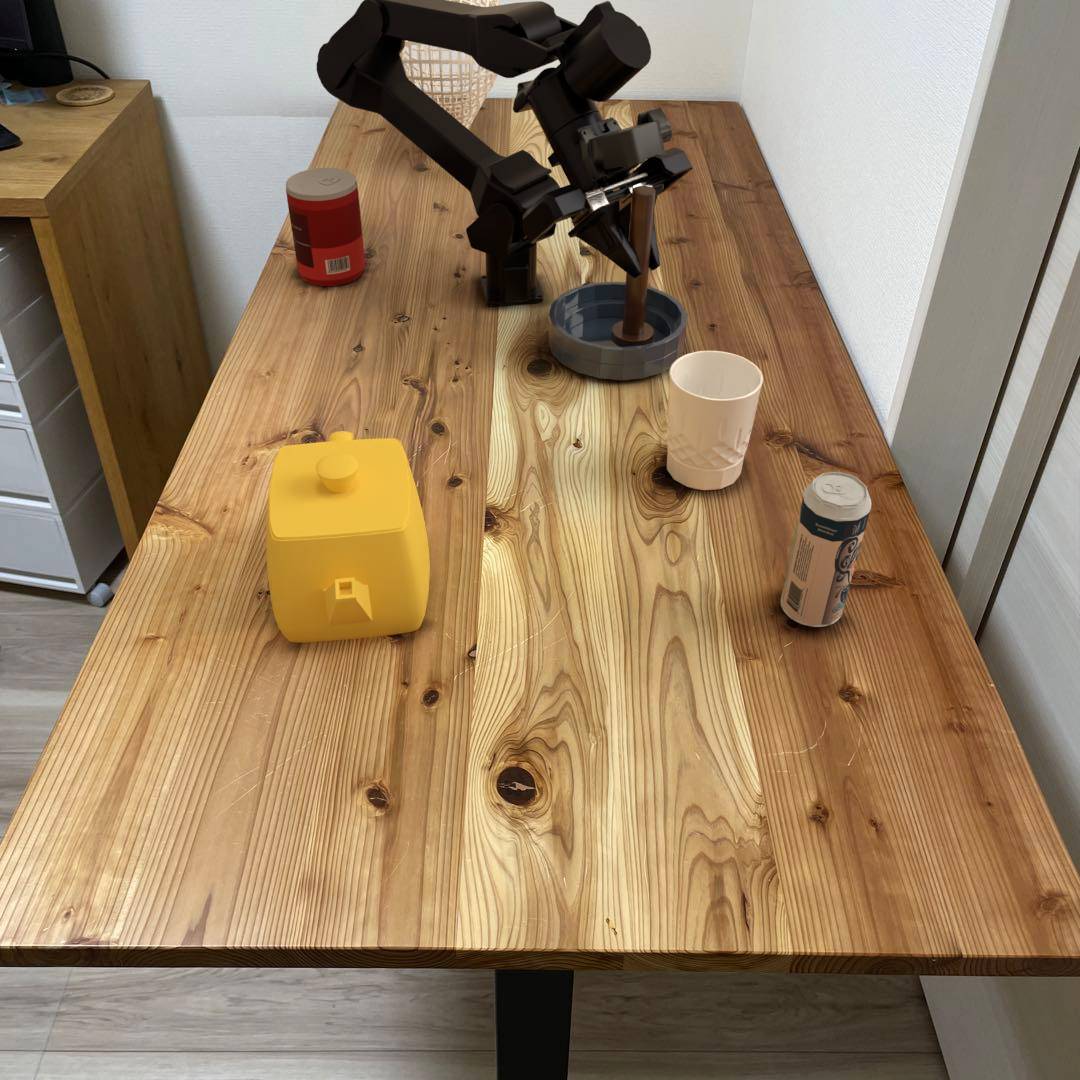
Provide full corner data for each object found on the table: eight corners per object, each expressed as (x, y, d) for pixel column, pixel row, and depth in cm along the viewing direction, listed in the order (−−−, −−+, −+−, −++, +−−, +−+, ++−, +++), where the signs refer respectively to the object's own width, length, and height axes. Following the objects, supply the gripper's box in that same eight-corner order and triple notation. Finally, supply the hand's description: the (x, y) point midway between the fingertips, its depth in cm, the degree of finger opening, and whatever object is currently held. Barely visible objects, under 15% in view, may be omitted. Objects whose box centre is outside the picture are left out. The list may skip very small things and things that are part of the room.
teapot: (440, 676, 78) (431, 555, 70) (267, 693, 76) (238, 572, 69) (424, 505, 93) (415, 390, 85) (279, 517, 91) (257, 400, 84)
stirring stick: (607, 346, 110) (617, 197, 100) (614, 325, 114) (624, 179, 103) (650, 351, 110) (664, 202, 99) (655, 330, 113) (669, 183, 102)
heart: (503, 185, 145) (501, 8, 131) (388, 185, 145) (373, 7, 130) (503, 113, 166) (501, -47, 152) (403, 113, 166) (391, -47, 151)
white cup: (754, 453, 99) (770, 359, 92) (737, 503, 93) (753, 407, 87) (671, 436, 101) (681, 343, 94) (650, 484, 95) (659, 389, 89)
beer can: (841, 635, 81) (875, 513, 73) (778, 626, 82) (805, 504, 74) (841, 593, 85) (873, 472, 77) (780, 584, 85) (806, 464, 78)
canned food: (378, 264, 127) (369, 173, 120) (341, 293, 121) (330, 200, 114) (324, 251, 129) (312, 162, 122) (285, 279, 124) (270, 187, 117)
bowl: (538, 320, 117) (538, 286, 115) (663, 310, 119) (666, 277, 117) (562, 389, 107) (563, 355, 104) (699, 377, 109) (704, 343, 106)
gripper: (543, 106, 93) (625, 267, 94) (688, 62, 102) (761, 210, 103) (487, 167, 102) (562, 314, 104) (625, 122, 112) (692, 257, 113)
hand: (647, 272), depth 106 cm, fingers closed on stirring stick, 2 cm apart
